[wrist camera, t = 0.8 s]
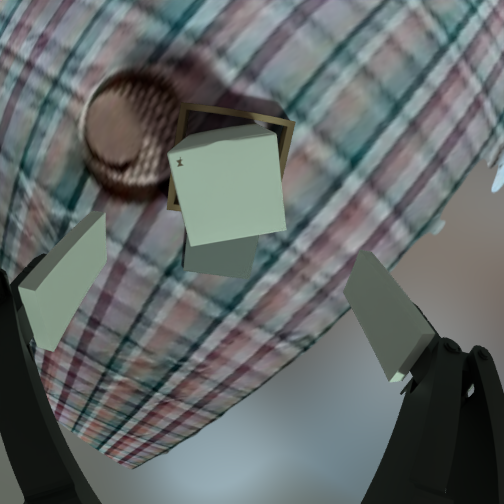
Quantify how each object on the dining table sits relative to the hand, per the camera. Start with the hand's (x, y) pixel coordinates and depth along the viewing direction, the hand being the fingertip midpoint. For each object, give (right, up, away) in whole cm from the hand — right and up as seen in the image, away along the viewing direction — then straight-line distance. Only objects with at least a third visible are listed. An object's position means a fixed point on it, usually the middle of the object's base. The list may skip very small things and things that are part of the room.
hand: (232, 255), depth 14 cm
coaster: (-3, +1, +28) cm, 28 cm away
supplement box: (-2, +12, +23) cm, 26 cm away
